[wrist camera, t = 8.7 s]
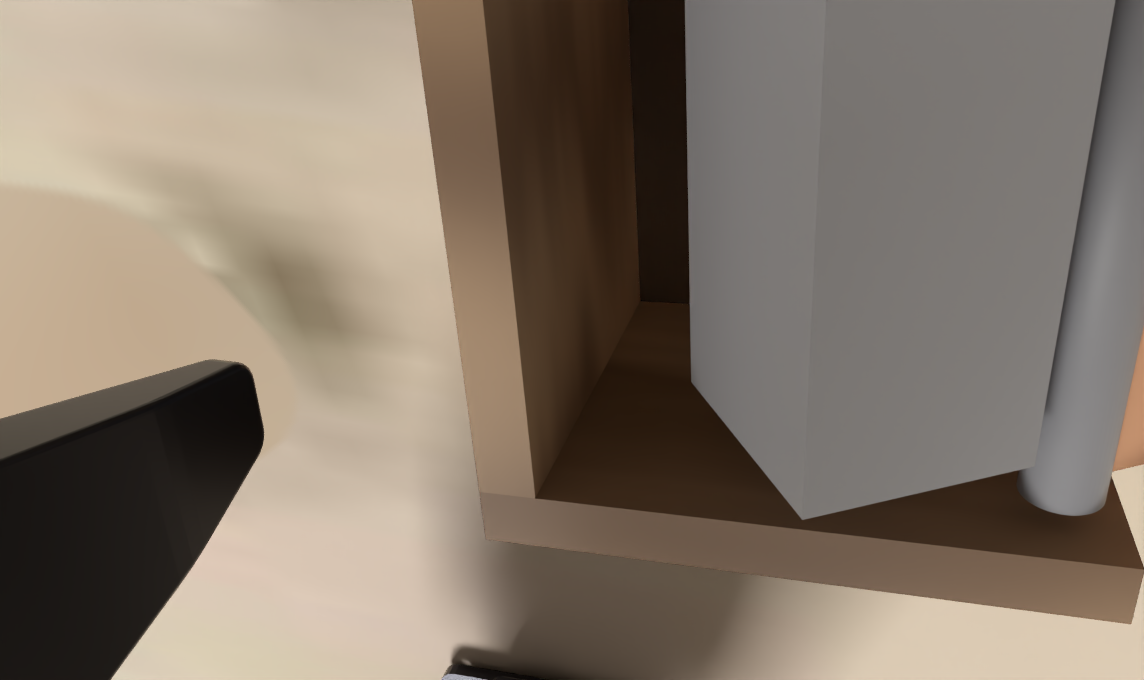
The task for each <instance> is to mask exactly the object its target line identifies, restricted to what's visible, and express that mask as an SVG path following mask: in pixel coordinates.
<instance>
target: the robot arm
mask: <svg viewBox="0 0 1144 680" xmlns="http://www.w3.org/2000/svg"><path fill="white" fill-rule="evenodd" d="M263 440H264V428H263V423H262V418H261V413H260V408H259V403H258V398H257V393H256V388H255V383H254V379H253V375H252V373H251V371H250V370H249V368H248V367H247V366H245V365H244V364H242V363H239V362H231V361H222V360H205V361H202V362H198V363H194V364H191V365H187V366H184V367H180V368H177V369H173V370H170V371H166V372H163V373H159V374H156V375H153V376H149V377H145V378H142V379H139V380H135V381H131V382H128V383H124V384H121V385H117V386H114V387H110V388H107V389H103V390H100V391H96V392H93V393H89V394H86V395H82V396H79V397H75V398H72V399H68V400H65V401H61V402H58V403H54V404H51V405H47V406H44V407H40V408H37V409H33V410H29V411H26V412H23V413H19V414H16V415H12V416H8V417H5V418H1V419H0V680H111V679H112V677H113V676H114V674H115V673H116V672H117V670H118V669H119V668H120V666H121V665H122V663H123V662H124V661H125V659H126V658H127V657H128V655H129V654H130V653H131V651H132V650H133V648H134V647H135V646H136V644H137V643H138V642H139V640H140V639H141V637H142V636H143V635H144V633H145V632H146V631H147V629H148V628H149V627H150V625H151V624H152V622H153V621H154V620H155V618H156V617H157V616H158V614H159V613H160V611H161V610H162V609H163V607H164V606H165V605H166V603H167V602H168V601H169V599H170V598H171V596H172V595H173V594H174V592H175V591H176V590H177V588H178V587H179V585H180V584H181V583H182V581H183V580H184V578H185V577H186V575H187V574H188V573H189V571H190V570H191V568H192V567H193V565H194V564H195V562H196V561H197V559H198V557H199V556H200V554H201V553H202V551H203V549H204V548H205V546H206V544H207V543H208V541H209V539H210V538H211V536H212V534H213V533H214V531H215V529H216V527H217V526H218V524H219V522H220V521H221V519H222V517H223V515H224V514H225V512H226V510H227V509H228V507H229V505H230V504H231V502H232V500H233V498H234V497H235V495H236V493H237V492H238V490H239V488H240V486H241V485H242V483H243V481H244V480H245V478H246V476H247V475H248V473H249V471H250V469H251V468H252V466H253V464H254V463H255V461H256V459H257V457H258V456H259V454H260V452H261V448H262V446H263ZM442 680H546V679H540V678H534V677H529V676H523V675H517V674H511V673H505V672H500V671H494V670H488V669H482V668H476V667H471V666H465V665H457V664H454V665H451V666H449V667H448V669H447V670H446V672H445V674H444V676H443V678H442Z"/></svg>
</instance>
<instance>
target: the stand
mask: <svg viewBox="0 0 1144 680" xmlns="http://www.w3.org/2000/svg"><path fill="white" fill-rule="evenodd" d="M412 4H413V11H414V18H415V26H416V33H417V40H418V48H419V55H420V62H421V70H422V77H423V84H424V92H425V99H426V106H427V113H428V121H429V128H430V135H431V143H432V150H433V157H434V165H435V172H436V179H437V186H438V194H439V201H440V208H441V216H442V223H443V230H444V238H445V245H446V252H447V259H448V267H449V274H450V281H451V289H452V296H453V303H454V311H455V318H456V325H457V332H458V340H459V347H460V354H461V362H462V369H463V376H464V384H465V391H466V398H467V405H468V413H469V420H470V427H471V435H472V442H473V449H474V457H475V464H476V471H477V478H478V486H479V493H480V500H481V508H482V515H483V522H484V530H485V537H486V539H487V540H495V541H502V542H510V543H518V544H525V545H533V546H540V547H548V548H556V549H563V550H571V551H578V552H586V553H594V554H601V555H609V556H616V557H624V558H632V559H639V560H647V561H654V562H662V563H670V564H677V565H685V566H692V567H700V568H708V569H715V570H723V571H730V572H738V573H746V574H753V575H761V576H768V577H776V578H784V579H791V580H799V581H806V582H814V583H822V584H829V585H837V586H844V587H852V588H860V589H867V590H875V591H882V592H890V593H898V594H905V595H913V596H920V597H928V598H936V599H943V600H951V601H958V602H966V603H974V604H981V605H989V606H996V607H1004V608H1012V609H1019V610H1027V611H1034V612H1042V613H1050V614H1057V615H1065V616H1072V617H1080V618H1088V619H1095V620H1103V621H1110V622H1118V623H1126V624H1131V623H1132V619H1133V615H1134V611H1135V607H1136V603H1137V599H1138V594H1139V590H1140V586H1141V582H1142V578H1143V574H1144V567H1143V564H1142V561H1141V558H1140V555H1139V552H1138V550H1137V547H1136V544H1135V541H1134V538H1133V536H1132V533H1131V530H1130V527H1129V524H1128V521H1127V519H1126V516H1125V513H1124V510H1123V507H1122V505H1121V502H1120V499H1119V496H1118V493H1117V491H1116V488H1115V485H1114V482H1113V479H1112V476H1111V479H1110V484H1109V489H1108V493H1107V498H1106V502H1105V505H1104V506H1103V508H1102V509H1100V510H1099V511H1097V512H1095V513H1092V514H1088V515H1081V516H1070V515H1061V514H1056V513H1052V512H1049V511H1046V510H1043V509H1041V508H1038V507H1036V506H1034V505H1033V504H1031V503H1029V502H1028V501H1027V500H1025V499H1024V498H1023V497H1022V496H1021V494H1020V493H1019V491H1018V489H1017V478H1018V472H1019V470H1017V471H1013V472H1008V473H1004V474H1000V475H995V476H991V477H987V478H982V479H978V480H974V481H969V482H965V483H961V484H956V485H952V486H948V487H943V488H939V489H935V490H930V491H926V492H922V493H917V494H913V495H909V496H904V497H900V498H896V499H891V500H887V501H883V502H878V503H874V504H870V505H865V506H861V507H857V508H852V509H848V510H844V511H839V512H835V513H831V514H826V515H822V516H818V517H813V518H809V519H805V520H802V519H801V518H800V516H799V515H798V514H797V513H796V511H795V510H794V509H793V508H792V506H791V505H790V504H789V503H788V502H787V500H786V499H785V498H784V497H783V495H782V494H781V493H780V492H779V490H778V489H777V488H776V487H775V485H774V484H773V483H772V482H771V480H770V479H769V478H768V477H767V475H766V474H765V473H764V472H763V470H762V469H761V468H760V467H759V465H758V464H757V463H756V462H755V461H754V459H753V458H752V457H751V456H750V454H749V453H748V452H747V451H746V449H745V448H744V447H743V446H742V444H741V443H740V442H739V441H738V439H737V438H736V437H735V436H734V434H733V433H732V432H731V431H730V429H729V428H728V427H727V426H726V424H725V423H724V422H723V421H722V419H721V418H720V417H719V416H718V415H717V413H716V412H715V411H714V410H713V408H712V407H711V406H710V405H709V403H708V402H707V401H706V400H705V398H704V397H703V396H702V395H701V393H700V392H699V391H698V390H697V388H696V387H695V386H694V385H693V383H692V382H691V341H690V304H682V303H664V302H645V301H640V282H639V258H638V234H637V210H636V186H635V162H634V138H633V114H632V90H631V66H630V42H629V18H628V0H412Z"/></svg>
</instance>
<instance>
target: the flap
mask: <svg viewBox="0 0 1144 680" xmlns="http://www.w3.org/2000/svg"><path fill="white" fill-rule="evenodd" d="M685 41H686V101H687V161H688V221H689V281H690V341H691V382H692V383H693V385H694V386H695V387H696V388H697V390H698V391H699V392H700V393H701V395H702V396H703V397H704V398H705V400H706V401H707V402H708V403H709V405H710V406H711V407H712V408H713V410H714V411H715V412H716V413H717V415H718V416H719V417H720V418H721V419H722V421H723V422H724V423H725V424H726V426H727V427H728V428H729V429H730V431H731V432H732V433H733V434H734V436H735V437H736V438H737V439H738V441H739V442H740V443H741V444H742V446H743V447H744V448H745V449H746V451H747V452H748V453H749V454H750V456H751V457H752V458H753V459H754V461H755V462H756V463H757V464H758V465H759V467H760V468H761V469H762V470H763V472H764V473H765V474H766V475H767V477H768V478H769V479H770V480H771V482H772V483H773V484H774V485H775V487H776V488H777V489H778V490H779V492H780V493H781V494H782V495H783V497H784V498H785V499H786V500H787V502H788V503H789V504H790V505H791V506H792V508H793V509H794V510H795V511H796V513H797V514H798V515H799V516H800V518H801V519H802V520H805V519H809V518H813V517H818V516H822V515H826V514H831V513H835V512H839V511H844V510H848V509H852V508H857V507H861V506H865V505H870V504H874V503H878V502H883V501H887V500H891V499H896V498H900V497H904V496H909V495H913V494H917V493H922V492H926V491H930V490H935V489H939V488H943V487H948V486H952V485H956V484H961V483H965V482H969V481H974V480H978V479H982V478H987V477H991V476H995V475H1000V474H1004V473H1008V472H1013V471H1017V470H1019V472H1018V478H1017V489H1018V491H1019V493H1020V494H1021V496H1022V497H1023V498H1024V499H1025V500H1027V501H1028V502H1029V503H1031V504H1033V505H1034V506H1036V507H1038V508H1041V509H1043V510H1046V511H1049V512H1052V513H1056V514H1061V515H1070V516H1081V515H1088V514H1092V513H1095V512H1097V511H1099V510H1100V509H1102V508H1103V506H1104V505H1105V502H1106V498H1107V493H1108V489H1109V484H1110V479H1111V475H1112V471H1117V470H1121V469H1125V468H1129V467H1134V466H1138V465H1142V464H1144V0H685Z"/></svg>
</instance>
